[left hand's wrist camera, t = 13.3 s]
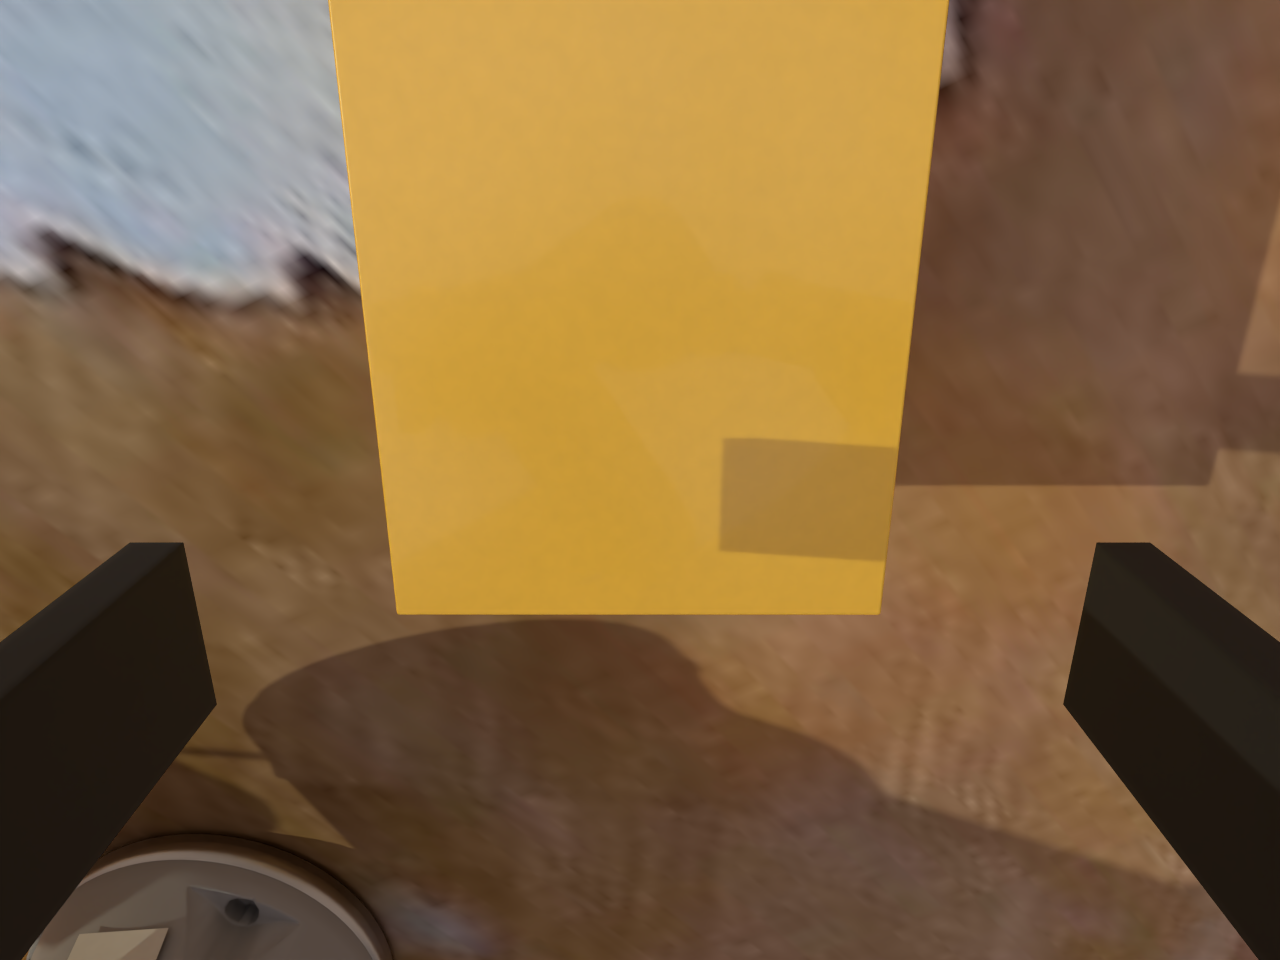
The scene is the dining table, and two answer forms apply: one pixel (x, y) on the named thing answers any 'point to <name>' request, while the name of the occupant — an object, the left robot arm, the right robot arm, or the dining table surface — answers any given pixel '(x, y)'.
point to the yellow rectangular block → (638, 294)
